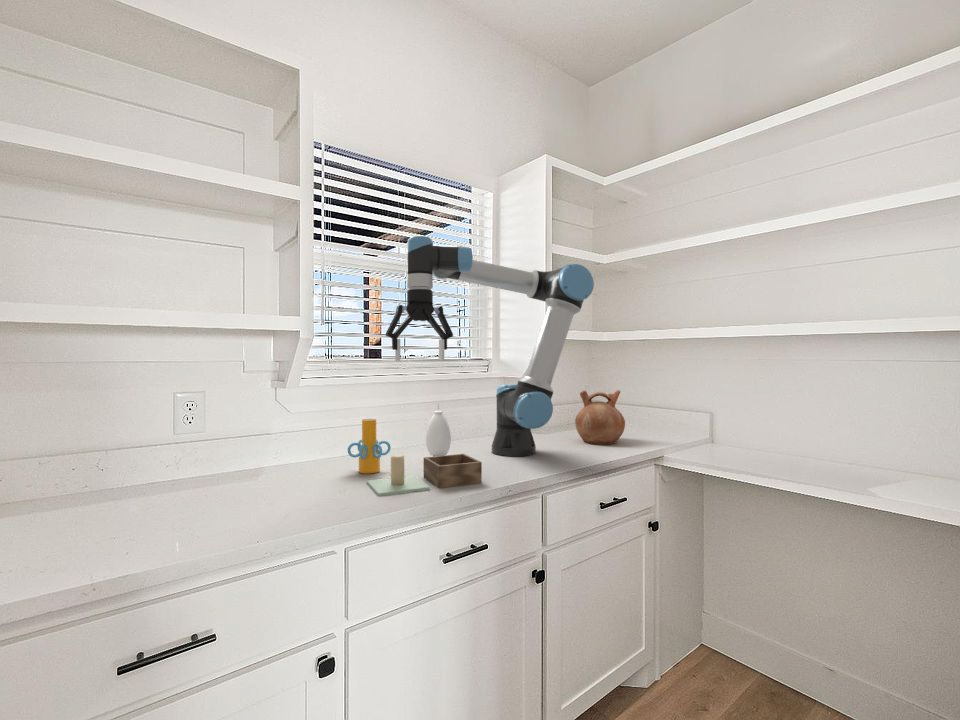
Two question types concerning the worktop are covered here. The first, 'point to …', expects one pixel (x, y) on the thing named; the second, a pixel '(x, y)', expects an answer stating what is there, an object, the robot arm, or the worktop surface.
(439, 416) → the sauce bottle
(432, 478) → the box
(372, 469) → the cylinder
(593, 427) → the jug
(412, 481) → the lid
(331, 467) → the worktop surface
